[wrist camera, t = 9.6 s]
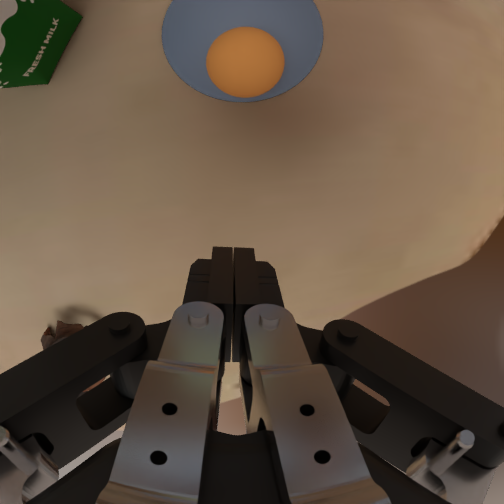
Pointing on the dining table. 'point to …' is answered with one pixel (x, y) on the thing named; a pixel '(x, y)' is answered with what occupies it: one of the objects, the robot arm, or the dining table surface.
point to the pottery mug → (62, 333)
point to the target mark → (232, 16)
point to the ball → (245, 62)
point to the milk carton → (33, 39)
